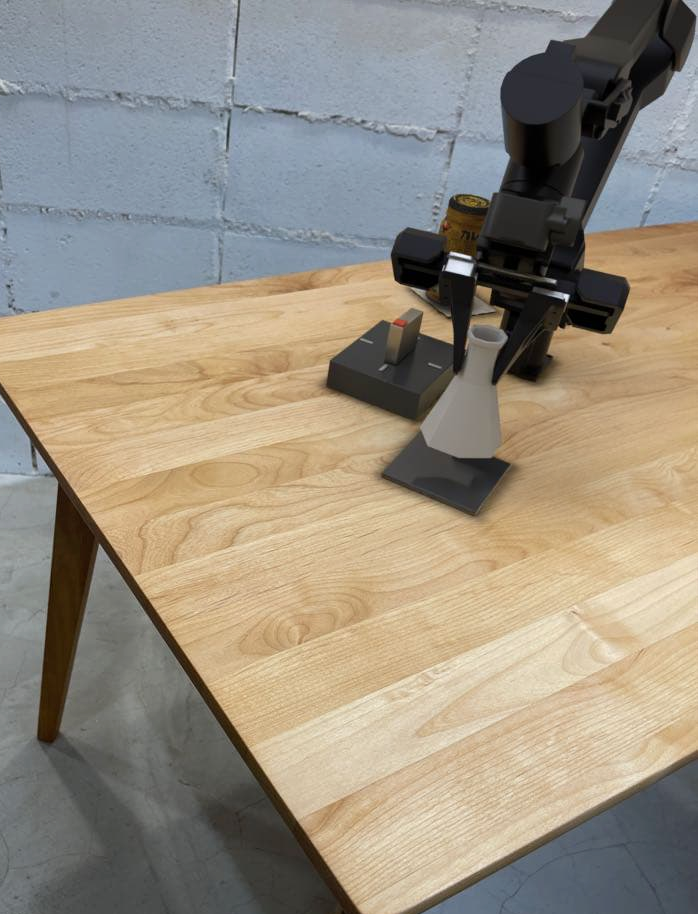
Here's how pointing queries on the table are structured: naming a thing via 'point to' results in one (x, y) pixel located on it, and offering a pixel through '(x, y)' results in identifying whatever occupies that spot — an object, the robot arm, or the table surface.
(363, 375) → the panel
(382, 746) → the table surface
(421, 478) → the coaster
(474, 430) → the flask
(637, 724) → the table surface
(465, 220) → the condiment
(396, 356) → the knob
